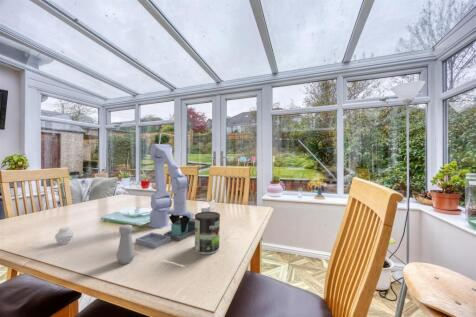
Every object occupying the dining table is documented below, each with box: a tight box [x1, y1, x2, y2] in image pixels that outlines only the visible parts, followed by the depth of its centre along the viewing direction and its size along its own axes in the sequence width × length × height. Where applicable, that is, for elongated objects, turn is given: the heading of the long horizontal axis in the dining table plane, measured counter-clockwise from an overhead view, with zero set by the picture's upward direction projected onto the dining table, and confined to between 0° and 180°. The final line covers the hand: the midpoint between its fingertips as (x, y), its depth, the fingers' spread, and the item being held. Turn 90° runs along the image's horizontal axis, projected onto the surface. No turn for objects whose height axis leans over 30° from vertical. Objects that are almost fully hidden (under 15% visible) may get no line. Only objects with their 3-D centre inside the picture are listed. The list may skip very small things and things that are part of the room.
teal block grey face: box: [170, 220, 188, 237], centre depth 99 cm, size 4×7×6 cm, turn 154°
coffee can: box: [194, 211, 221, 255], centre depth 86 cm, size 10×10×14 cm
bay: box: [163, 216, 195, 242], centre depth 100 cm, size 12×15×6 cm
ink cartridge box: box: [200, 198, 216, 212], centre depth 109 cm, size 9×5×15 cm, turn 168°
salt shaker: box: [116, 224, 136, 265], centre depth 75 cm, size 6×6×13 cm
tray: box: [135, 232, 172, 249], centre depth 91 cm, size 12×9×2 cm
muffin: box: [54, 226, 74, 246], centre depth 89 cm, size 6×6×7 cm
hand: (179, 230), depth 99 cm, fingers closed on teal block grey face, 4 cm apart
